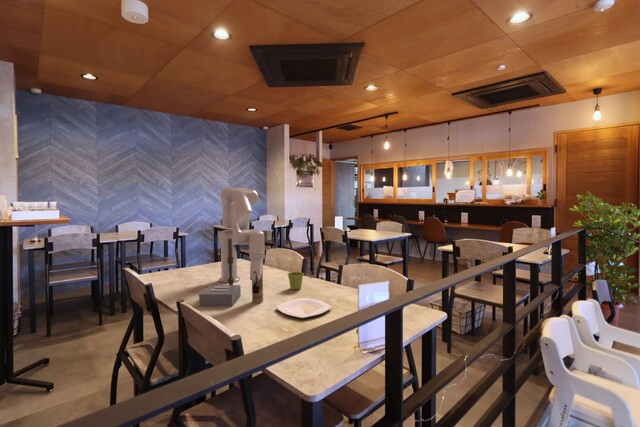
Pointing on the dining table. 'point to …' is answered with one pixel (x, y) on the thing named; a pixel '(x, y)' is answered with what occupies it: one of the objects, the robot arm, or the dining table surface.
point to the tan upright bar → (259, 296)
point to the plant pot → (295, 279)
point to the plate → (297, 311)
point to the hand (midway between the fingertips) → (257, 290)
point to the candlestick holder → (230, 261)
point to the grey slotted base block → (220, 296)
